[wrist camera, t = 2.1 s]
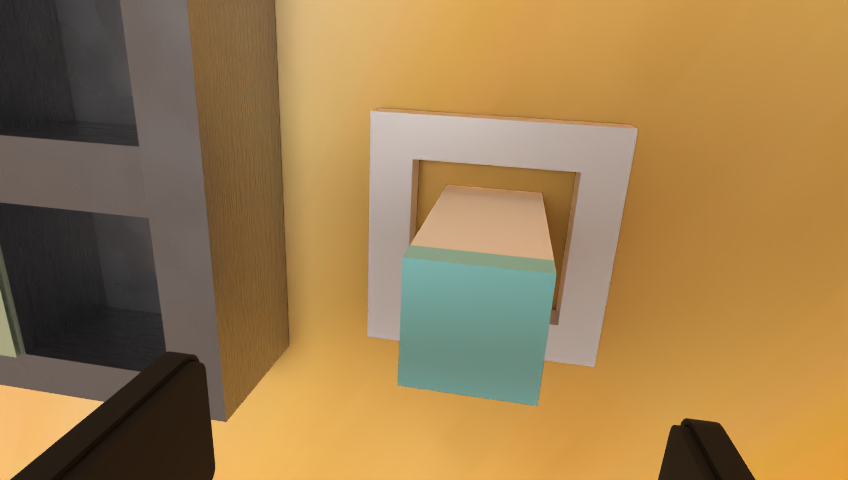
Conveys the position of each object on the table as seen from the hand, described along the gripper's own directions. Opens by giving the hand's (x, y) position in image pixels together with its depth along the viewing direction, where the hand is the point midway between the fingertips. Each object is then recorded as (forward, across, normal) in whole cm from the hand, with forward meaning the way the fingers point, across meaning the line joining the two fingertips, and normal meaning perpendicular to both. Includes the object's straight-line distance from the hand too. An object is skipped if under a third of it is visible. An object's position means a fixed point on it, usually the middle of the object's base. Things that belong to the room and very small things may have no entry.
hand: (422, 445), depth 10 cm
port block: (+14, +14, -3) cm, 20 cm away
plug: (+13, -1, 0) cm, 13 cm away
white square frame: (+13, -1, 0) cm, 13 cm away
